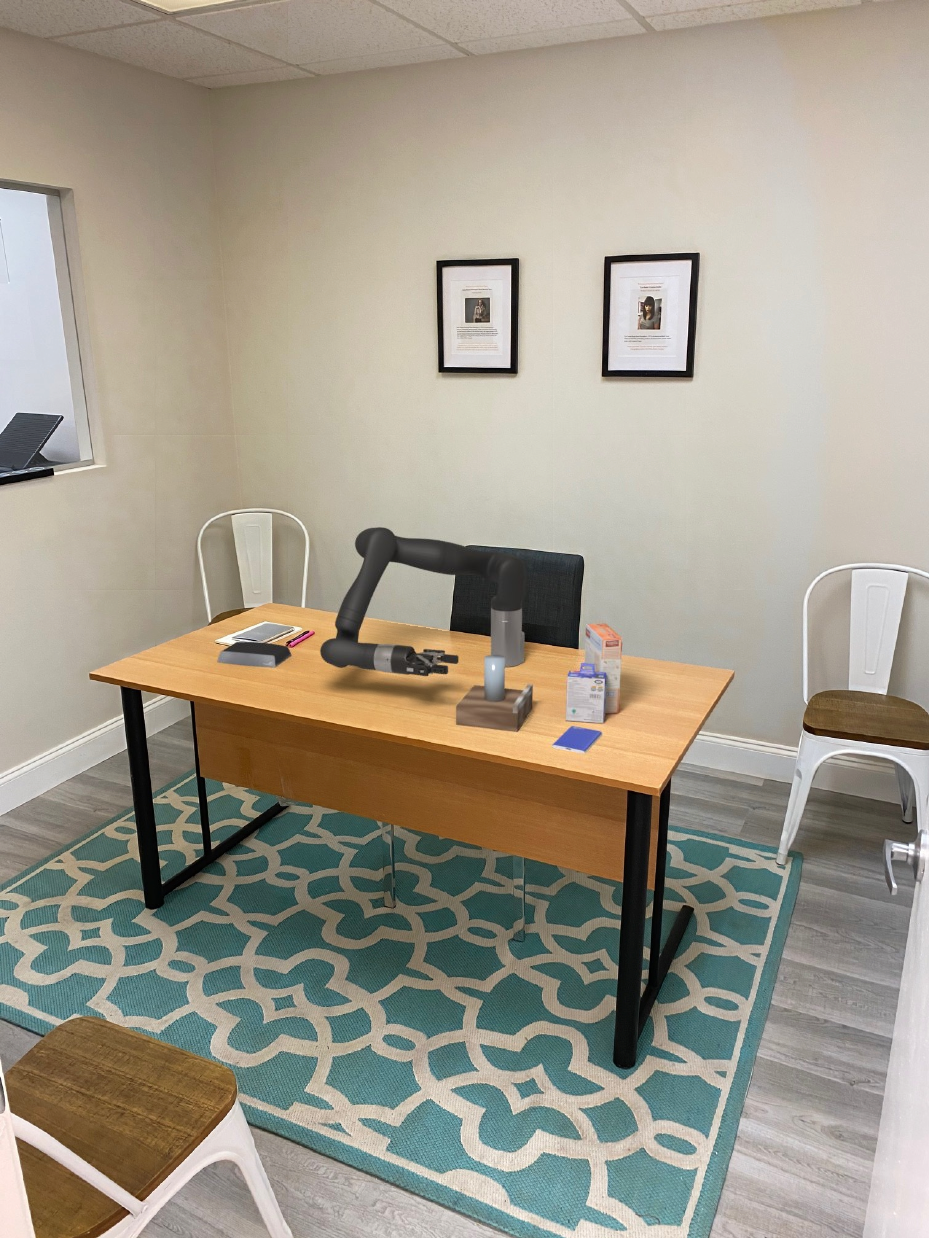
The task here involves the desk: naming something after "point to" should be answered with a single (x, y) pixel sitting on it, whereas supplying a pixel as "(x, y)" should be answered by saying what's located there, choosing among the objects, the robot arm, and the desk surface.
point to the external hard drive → (254, 654)
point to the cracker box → (605, 659)
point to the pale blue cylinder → (494, 678)
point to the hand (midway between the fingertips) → (453, 664)
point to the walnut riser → (495, 709)
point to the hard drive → (577, 739)
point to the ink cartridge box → (586, 695)
